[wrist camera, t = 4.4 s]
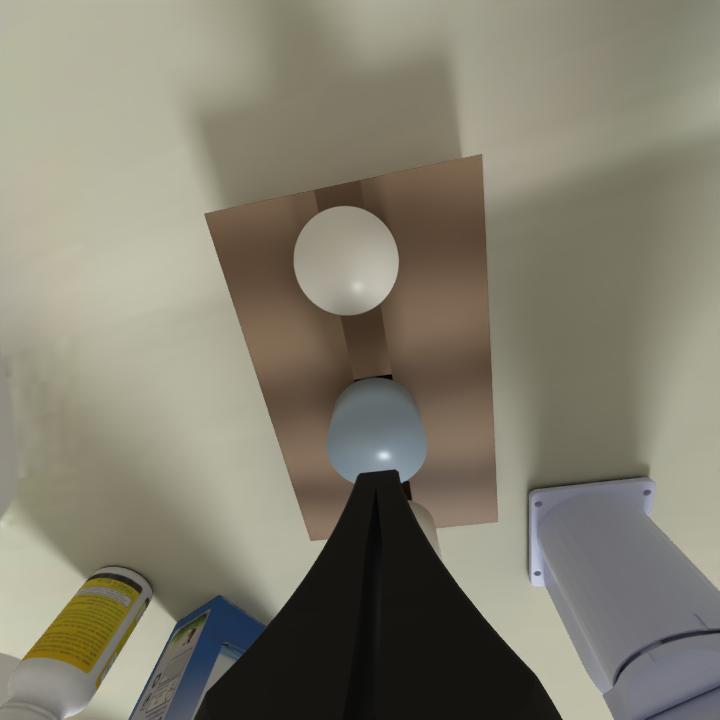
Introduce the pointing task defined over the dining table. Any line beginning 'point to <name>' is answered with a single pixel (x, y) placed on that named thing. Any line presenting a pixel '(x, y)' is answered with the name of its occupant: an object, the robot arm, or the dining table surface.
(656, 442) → the dining table surface
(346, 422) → the middle knob
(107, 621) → the supplement bottle
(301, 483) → the knob panel
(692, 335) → the dining table surface
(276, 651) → the robot arm
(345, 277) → the knob
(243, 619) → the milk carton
